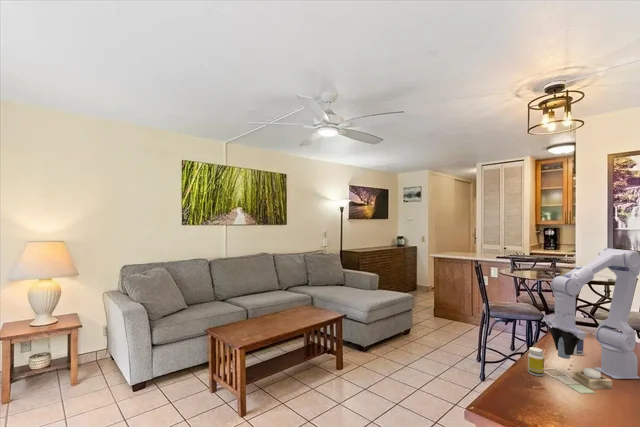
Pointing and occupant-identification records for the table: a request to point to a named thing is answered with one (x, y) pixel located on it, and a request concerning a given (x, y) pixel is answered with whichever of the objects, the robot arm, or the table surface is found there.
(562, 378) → the square
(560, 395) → the table surface
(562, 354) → the pawn
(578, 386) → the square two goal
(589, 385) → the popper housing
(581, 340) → the pill bottle
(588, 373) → the dome
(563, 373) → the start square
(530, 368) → the supplement bottle
